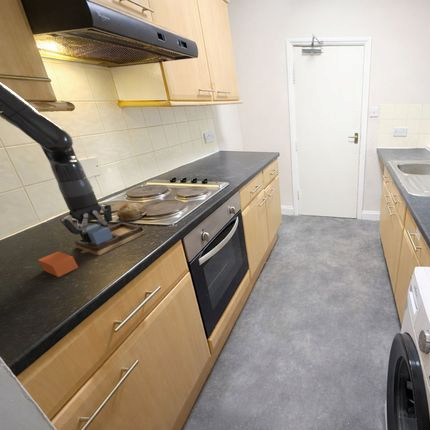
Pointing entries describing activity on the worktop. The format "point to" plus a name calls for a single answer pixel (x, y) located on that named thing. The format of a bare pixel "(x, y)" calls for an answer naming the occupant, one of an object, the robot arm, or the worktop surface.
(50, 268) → the terracotta pad
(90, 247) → the brown wooden tray
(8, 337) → the worktop surface
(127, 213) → the bread roll
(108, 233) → the blue bevelled block
